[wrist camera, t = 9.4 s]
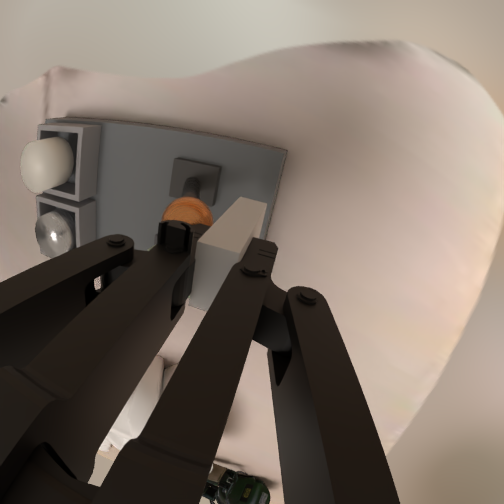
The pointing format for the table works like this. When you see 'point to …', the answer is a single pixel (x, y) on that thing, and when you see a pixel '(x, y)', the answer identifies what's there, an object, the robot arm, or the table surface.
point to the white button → (46, 164)
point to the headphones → (234, 488)
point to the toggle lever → (189, 206)
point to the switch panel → (152, 175)
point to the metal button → (56, 232)
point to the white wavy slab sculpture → (141, 404)
